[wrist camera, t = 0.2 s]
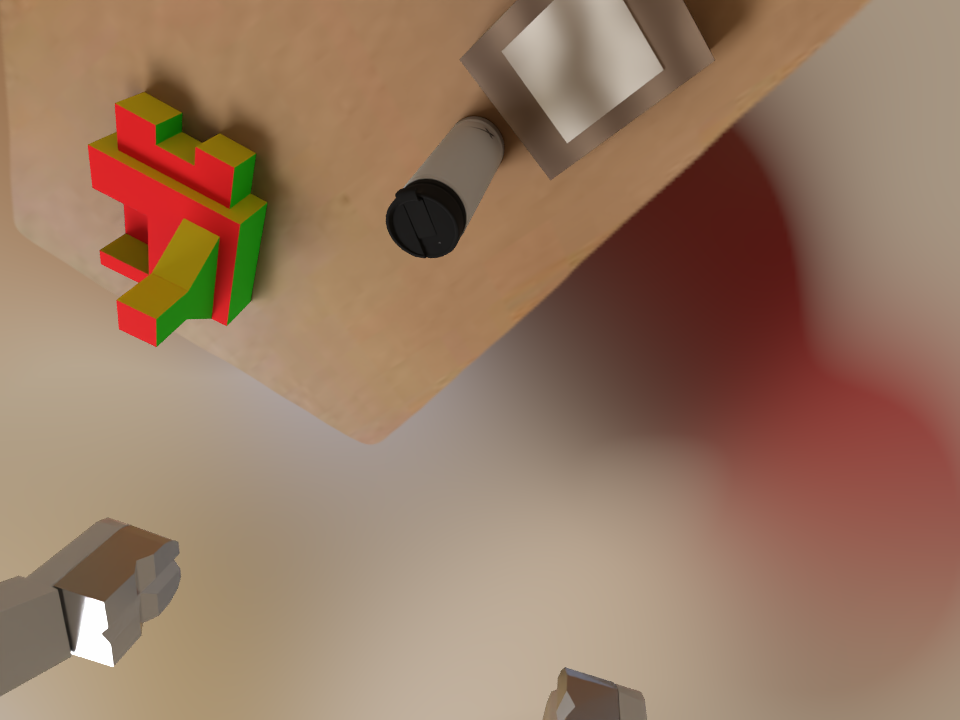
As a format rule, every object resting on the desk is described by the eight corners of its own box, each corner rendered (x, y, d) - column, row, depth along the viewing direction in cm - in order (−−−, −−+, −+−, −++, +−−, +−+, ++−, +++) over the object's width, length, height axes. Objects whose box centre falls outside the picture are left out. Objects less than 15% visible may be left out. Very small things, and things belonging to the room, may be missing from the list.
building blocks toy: (275, 162, 63) (178, 231, 49) (251, 300, 80) (174, 380, 66) (126, 80, 60) (-19, 131, 47) (134, 241, 77) (29, 312, 64)
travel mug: (495, 105, 52) (440, 183, 38) (511, 168, 56) (467, 260, 42) (440, 120, 54) (368, 198, 40) (459, 179, 58) (400, 270, 44)
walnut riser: (625, -109, 40) (624, -110, 37) (710, 50, 45) (715, 60, 42) (469, 50, 49) (458, 60, 46) (555, 165, 55) (550, 181, 52)
